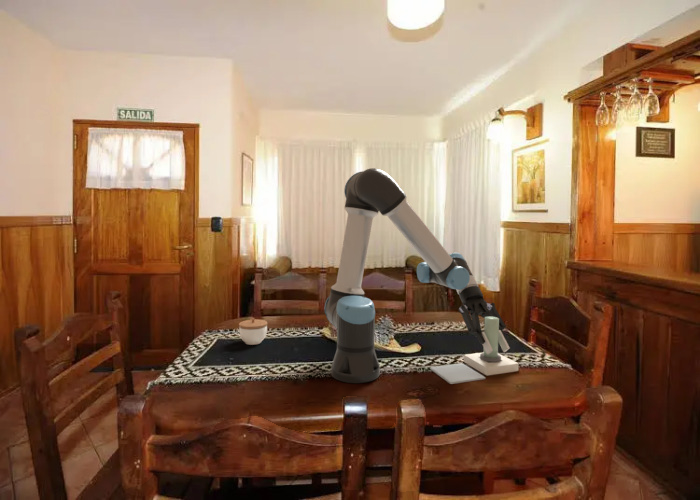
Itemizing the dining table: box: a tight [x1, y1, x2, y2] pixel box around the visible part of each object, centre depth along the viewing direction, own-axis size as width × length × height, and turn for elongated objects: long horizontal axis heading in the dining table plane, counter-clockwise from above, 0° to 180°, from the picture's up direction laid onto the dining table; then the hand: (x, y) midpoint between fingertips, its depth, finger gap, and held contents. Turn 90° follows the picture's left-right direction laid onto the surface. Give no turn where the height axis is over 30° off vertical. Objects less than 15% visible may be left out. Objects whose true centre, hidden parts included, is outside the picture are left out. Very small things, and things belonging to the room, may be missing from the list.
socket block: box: [463, 351, 519, 376], centre depth 127 cm, size 12×12×2 cm
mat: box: [429, 362, 486, 385], centre depth 121 cm, size 12×12×1 cm
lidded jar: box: [238, 318, 268, 346], centre depth 150 cm, size 11×11×9 cm
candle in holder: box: [480, 317, 501, 363], centre depth 126 cm, size 6×6×16 cm
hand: (498, 351), depth 123 cm, fingers open, 6 cm apart
